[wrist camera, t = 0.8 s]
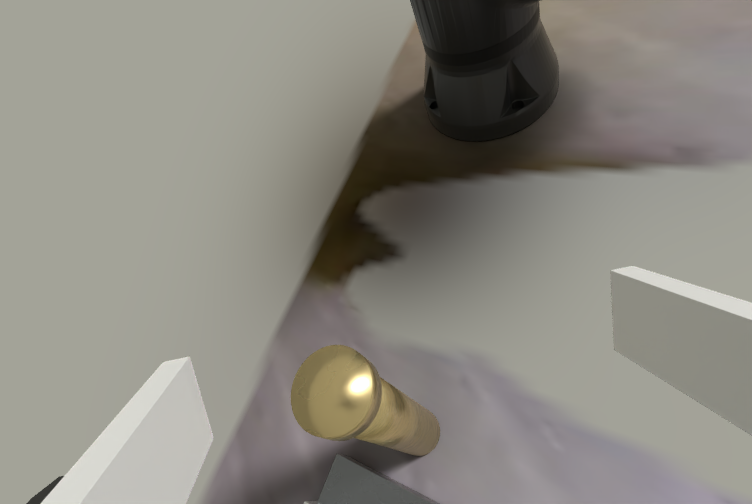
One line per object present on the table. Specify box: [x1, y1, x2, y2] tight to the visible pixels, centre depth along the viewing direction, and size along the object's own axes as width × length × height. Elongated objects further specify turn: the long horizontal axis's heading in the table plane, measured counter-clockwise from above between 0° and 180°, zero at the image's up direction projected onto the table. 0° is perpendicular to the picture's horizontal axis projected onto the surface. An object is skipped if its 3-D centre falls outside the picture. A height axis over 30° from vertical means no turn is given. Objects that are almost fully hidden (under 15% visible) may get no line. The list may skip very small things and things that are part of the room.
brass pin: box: [291, 345, 440, 456], centre depth 26 cm, size 4×4×16 cm
